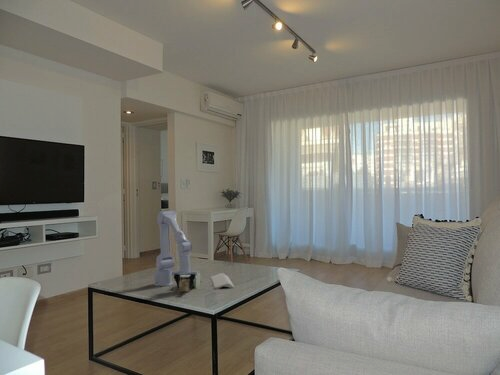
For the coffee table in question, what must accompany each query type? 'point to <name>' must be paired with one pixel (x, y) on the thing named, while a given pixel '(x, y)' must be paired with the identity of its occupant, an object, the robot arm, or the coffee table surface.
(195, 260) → the coffee table surface
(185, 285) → the brown rectangular box
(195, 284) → the tunnel
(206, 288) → the coffee table surface
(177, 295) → the rail
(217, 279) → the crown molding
